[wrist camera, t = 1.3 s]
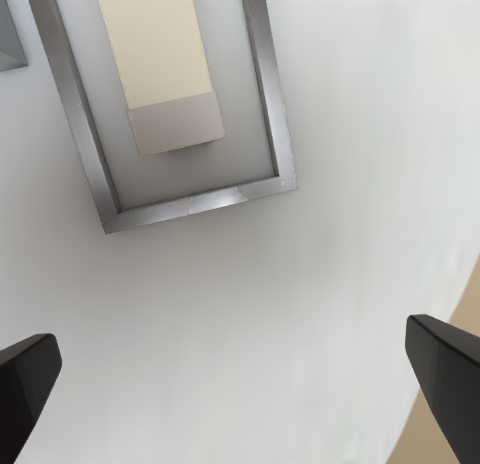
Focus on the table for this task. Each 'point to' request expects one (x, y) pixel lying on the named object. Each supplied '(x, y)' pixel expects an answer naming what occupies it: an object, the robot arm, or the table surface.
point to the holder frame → (92, 151)
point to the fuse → (163, 73)
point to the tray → (9, 41)
